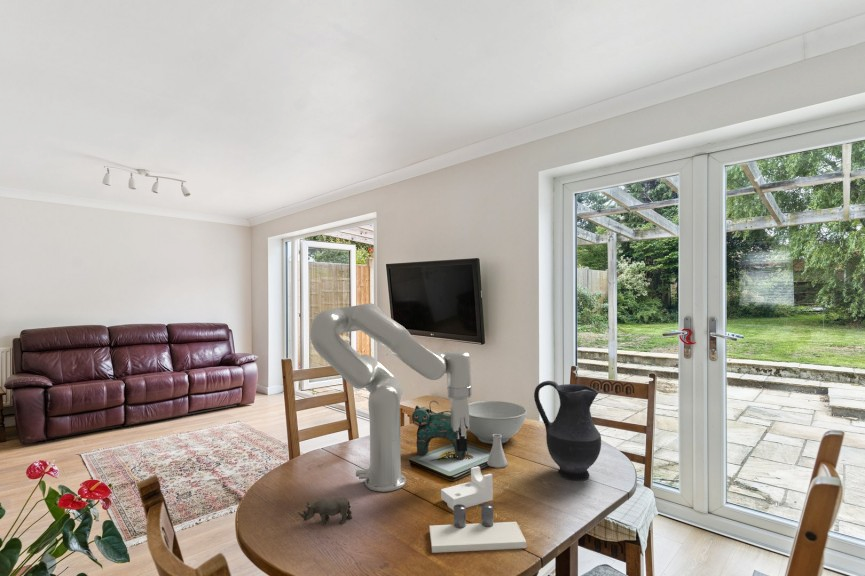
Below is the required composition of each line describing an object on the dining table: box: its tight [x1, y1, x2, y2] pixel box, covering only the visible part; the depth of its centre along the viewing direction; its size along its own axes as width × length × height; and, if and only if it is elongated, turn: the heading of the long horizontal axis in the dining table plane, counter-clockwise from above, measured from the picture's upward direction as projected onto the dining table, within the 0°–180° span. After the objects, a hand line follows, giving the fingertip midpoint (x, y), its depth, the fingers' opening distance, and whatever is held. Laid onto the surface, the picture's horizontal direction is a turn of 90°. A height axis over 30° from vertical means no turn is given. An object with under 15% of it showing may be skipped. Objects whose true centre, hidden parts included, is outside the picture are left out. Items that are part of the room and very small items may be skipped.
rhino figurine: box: [297, 497, 353, 526], centre depth 117 cm, size 4×14×6 cm, turn 97°
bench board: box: [429, 521, 527, 554], centre depth 108 cm, size 22×9×2 cm, turn 94°
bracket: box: [440, 466, 494, 512], centre depth 128 cm, size 13×7×8 cm, turn 119°
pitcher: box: [533, 380, 602, 481], centre depth 146 cm, size 17×21×30 cm
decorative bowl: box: [468, 400, 528, 445], centre depth 180 cm, size 27×27×12 cm
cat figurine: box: [411, 400, 467, 460], centre depth 163 cm, size 20×6×20 cm, turn 72°
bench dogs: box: [453, 502, 494, 528], centre depth 112 cm, size 10×3×6 cm, turn 94°
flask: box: [486, 434, 509, 468], centre depth 154 cm, size 7×7×10 cm
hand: (461, 450), depth 139 cm, fingers closed
